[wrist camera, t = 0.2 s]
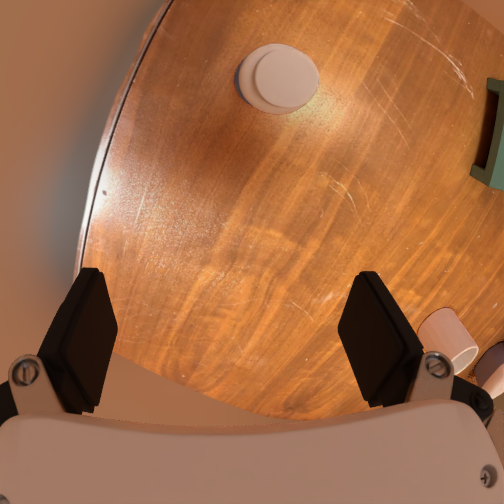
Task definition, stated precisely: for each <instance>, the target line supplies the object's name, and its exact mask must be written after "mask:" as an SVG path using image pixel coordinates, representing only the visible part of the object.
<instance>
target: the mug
mask: <svg viewBox="0 0 504 504" xmlns="http://www.w3.org/2000/svg"><path fill="white" fill-rule="evenodd" d="M418 338H419V340H420V341H421V343H422V345H423V347H424V348H425V350H426V352H428V351H438V352H441V353H443V354H444V355H446V356H447V357H448V358H449V359H450V360H451V362H452V364H453V366H454V375H456V374H458V373H460V372H461V371H462V370H464V369H465V368H466V367H467V366H468V365H469V364H470V363H471V362H472V361H473V360H474V359H475V357H476V355H477V354H478V350H479V348H478V346H477V344H476V343H475V341H474V340H473V339H472V337H471V336H470V334H469V333H468V331H467V330H466V328H465V327H464V326H463V324H462V323H461V321H460V320H459V319H458V317H457V316H456V315H455V313H454V312H453V311H452V309H450V308H442V309H439V310H437V311H436V312H434V313H432V314H431V315H430V316H429V317H427V318H426V320H425V321H424V322H423V323H422V324H421V326H420V328H419V330H418Z"/></svg>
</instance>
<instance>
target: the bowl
mask: <svg viewBox="0 0 504 504" xmlns="http://www.w3.org/2000/svg"><path fill="white" fill-rule="evenodd" d="M474 372H475V376H476V379H477V383H478V387H480V388H482V389H484V390H485V391H487V392H488V394H489V395H490V396H491V398H492V399H493V398H495V397H497V396H498V395H500V394H501V393H503V392H504V342H501V343H499V344H497V345H495V346H493V347H492V348H490V349H489V350H488V351H487V352H486V353H485V354H484V355H483V357H482V358H481V359H480V361H479V362H478V364H477V365H476V367H475V370H474Z"/></svg>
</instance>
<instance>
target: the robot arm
mask: <svg viewBox="0 0 504 504" xmlns="http://www.w3.org/2000/svg"><path fill="white" fill-rule="evenodd" d="M117 332H118V326H117V322H116V319H115V315H114V312H113V308H112V305H111V301H110V297H109V294H108V290H107V286H106V282H105V278H104V274H103V273H102V272H99V270H98V268H85V267H84V268H82V269H81V271H80V273H79V274H78V276H77V278H76V280H75V282H74V283H73V285H72V287H71V289H70V291H69V292H68V294H67V297H66V298H65V300H64V302H63V303H62V304H61V306H60V307H59V309H58V311H57V313H56V315H55V317H54V319H53V321H52V323H51V325H50V328H49V330H48V332H47V334H46V336H45V338H44V340H43V343H42V345H41V347H40V349H39V352H38V354H37V356H35V355H31V354H28V355H23V356H20V357H19V358H17V359H16V360H15V361H14V362H13V363H12V364H11V366H10V368H9V371H8V381H6V382H4V383H2V384H1V385H0V504H504V413H503V412H502V411H501V410H499V409H498V408H495V409H493V400H492V398H491V396H490V395H489V394H488V392H487V391H485V390H484V389H482V388H480V387H478V386H476V385H474V384H472V383H470V382H468V381H466V380H464V379H462V378H460V377H458V376H456V375H454V366H453V364H452V362H451V360H450V359H449V358H448V357H447V356H446V355H444V354H443V353H441V352H438V351H428V352H426V353H425V354H424V352H423V350H422V349H423V348H424V347H423V345H422V344H421V342H420V340H419V339H418V337H417V335H416V333H415V332H414V330H413V329H412V327H411V325H410V324H409V322H408V320H407V319H406V317H405V316H404V314H403V312H402V311H401V309H400V308H399V306H398V304H397V303H396V301H395V300H394V298H393V297H392V295H391V294H390V292H389V291H388V289H387V288H386V286H385V285H384V283H383V282H382V280H381V279H380V277H379V276H378V274H377V273H376V272H375V271H362V272H360V273H359V275H357V276H356V277H355V279H354V282H353V285H352V288H351V290H350V293H349V296H348V299H347V302H346V305H345V308H344V310H343V313H342V316H341V319H340V321H339V324H338V334H339V336H340V339H341V341H342V344H343V346H344V349H345V351H346V354H347V357H348V359H349V362H350V364H351V367H352V370H353V372H354V375H355V377H356V380H357V383H358V385H359V388H360V391H361V394H362V396H363V399H364V400H365V401H368V403H369V406H370V408H371V407H376V406H380V405H383V408H380V409H375V410H370V411H365V412H360V413H354V414H349V415H343V416H337V417H331V418H324V419H317V420H310V421H301V422H292V423H282V424H270V425H253V426H214V427H213V426H212V427H210V426H175V425H160V424H148V423H138V422H129V421H120V420H112V419H104V418H97V417H91V416H85V415H82V411H83V412H88V413H93V411H94V407H95V406H98V405H99V402H100V398H101V393H102V389H103V385H104V381H105V377H106V372H107V369H108V365H109V361H110V358H111V354H112V350H113V347H114V343H115V340H116V336H117Z"/></svg>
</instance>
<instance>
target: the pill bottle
mask: <svg viewBox="0 0 504 504" xmlns="http://www.w3.org/2000/svg"><path fill="white" fill-rule="evenodd" d="M234 84H235V88H236V91H237V93H238V94H239V96H240V97H241V98H242V99H243V100H244V101H245V102H246V103H248V104H250V105H251V106H253V107H255V108H256V109H258V110H260V111H262V112H265V113H269V114H276V115H282V114H288V113H291V112H294V111H296V110H298V109H300V108H301V107H303V106H304V105H305V104H306V103H307V102H308V101H310V100H311V99H312V98H313V96H314V95H315V93H316V91H317V89H318V85H319V74H318V70H317V68H316V66H315V64H314V62H313V61H312V60H311V59H310V58H309V57H308V56H307V55H306V54H304V53H302V52H301V51H299V50H298V49H296V48H294V47H291V46H288V45H284V44H268V45H264V46H261V47H259V48H257V49H255V50H254V51H252V52H251V53H250V54H249V55H248V56H247V57H246V58H245V59H244V60H243V61H242V62H241V63H240V64H239V65H238V67H237V69H236V72H235V76H234Z"/></svg>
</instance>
